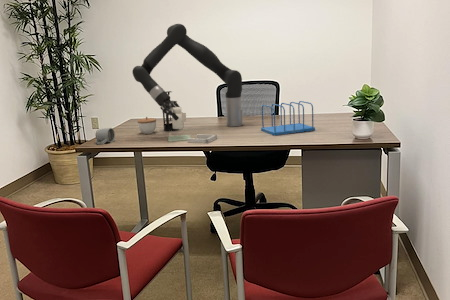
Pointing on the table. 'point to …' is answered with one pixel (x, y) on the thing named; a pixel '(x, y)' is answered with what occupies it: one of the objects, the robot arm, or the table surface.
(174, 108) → the figurine
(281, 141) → the table surface
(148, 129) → the lidded jar
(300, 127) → the file sorter
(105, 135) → the ceramic mug
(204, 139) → the holder
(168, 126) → the french press
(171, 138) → the mat
